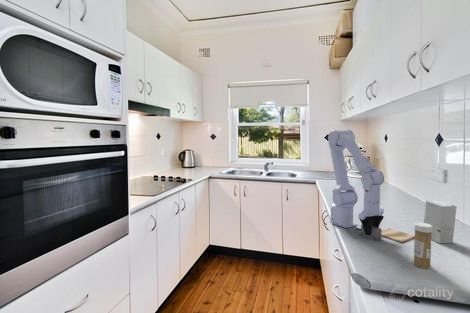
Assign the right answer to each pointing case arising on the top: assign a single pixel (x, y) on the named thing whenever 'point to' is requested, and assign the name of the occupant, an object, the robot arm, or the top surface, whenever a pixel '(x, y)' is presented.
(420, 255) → the sprinkles bottle
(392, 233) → the cork coaster
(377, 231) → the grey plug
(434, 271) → the top surface
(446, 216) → the skincare box
